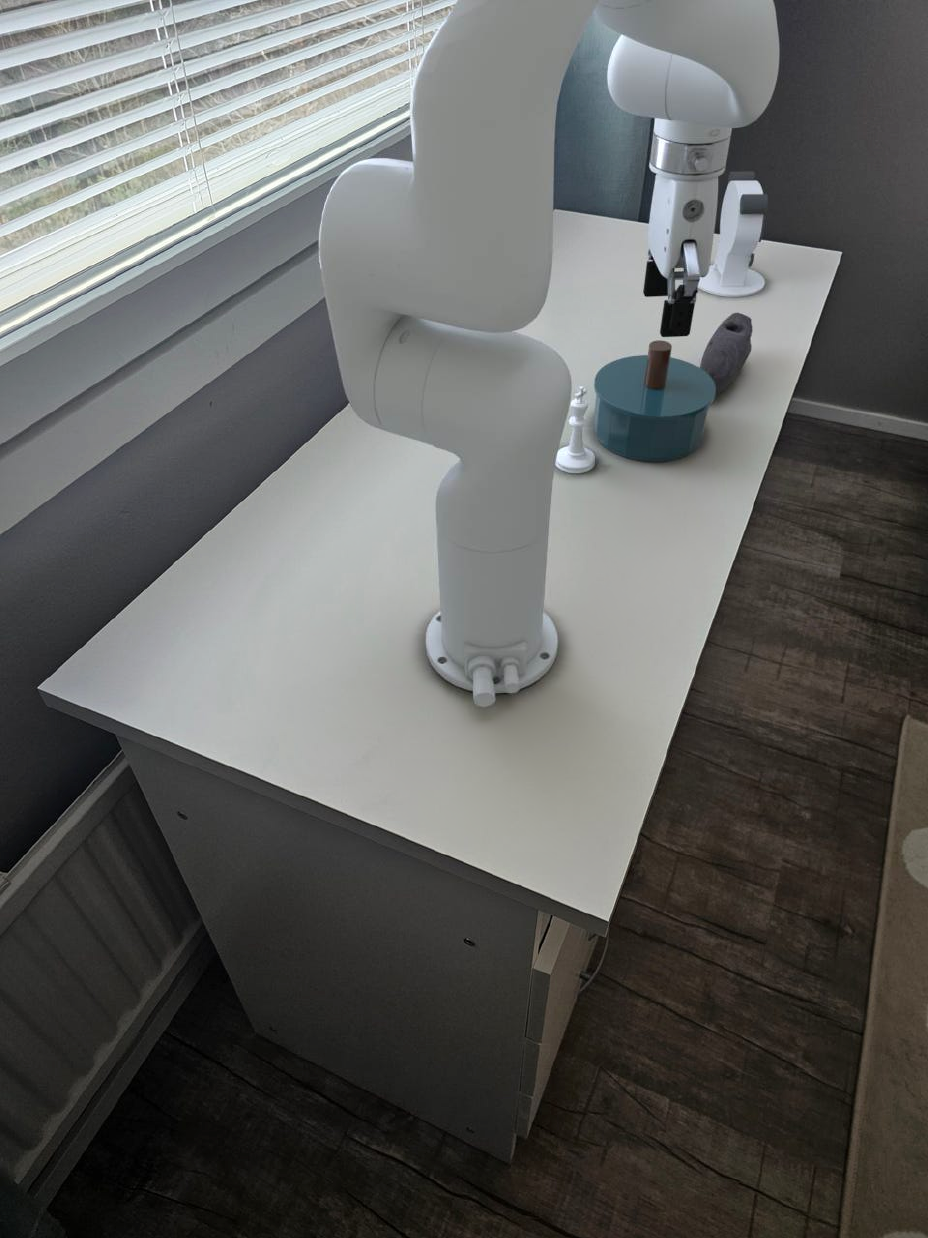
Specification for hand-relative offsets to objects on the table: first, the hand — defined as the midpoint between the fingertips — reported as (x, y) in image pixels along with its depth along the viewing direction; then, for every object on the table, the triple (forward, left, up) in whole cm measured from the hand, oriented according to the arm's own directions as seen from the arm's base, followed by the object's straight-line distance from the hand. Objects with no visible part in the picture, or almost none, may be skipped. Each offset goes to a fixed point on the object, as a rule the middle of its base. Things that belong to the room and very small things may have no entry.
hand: (665, 314), depth 101 cm
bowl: (0, 0, -15) cm, 15 cm away
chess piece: (-6, +10, -15) cm, 19 cm away
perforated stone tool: (+11, -12, -15) cm, 22 cm away
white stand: (+42, -21, -15) cm, 49 cm away
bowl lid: (0, 0, -9) cm, 9 cm away
